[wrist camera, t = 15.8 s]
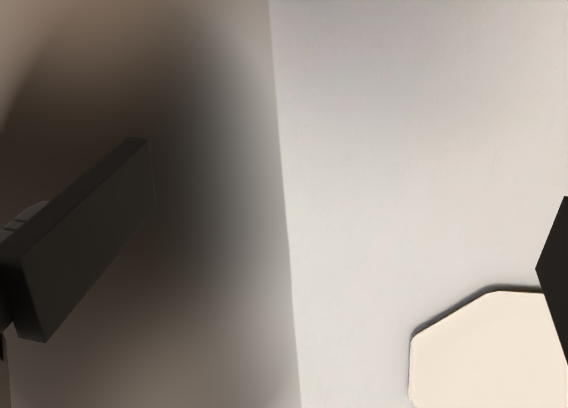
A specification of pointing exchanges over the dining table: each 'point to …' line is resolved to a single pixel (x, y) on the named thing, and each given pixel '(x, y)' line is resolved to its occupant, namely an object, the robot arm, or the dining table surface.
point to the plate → (490, 356)
